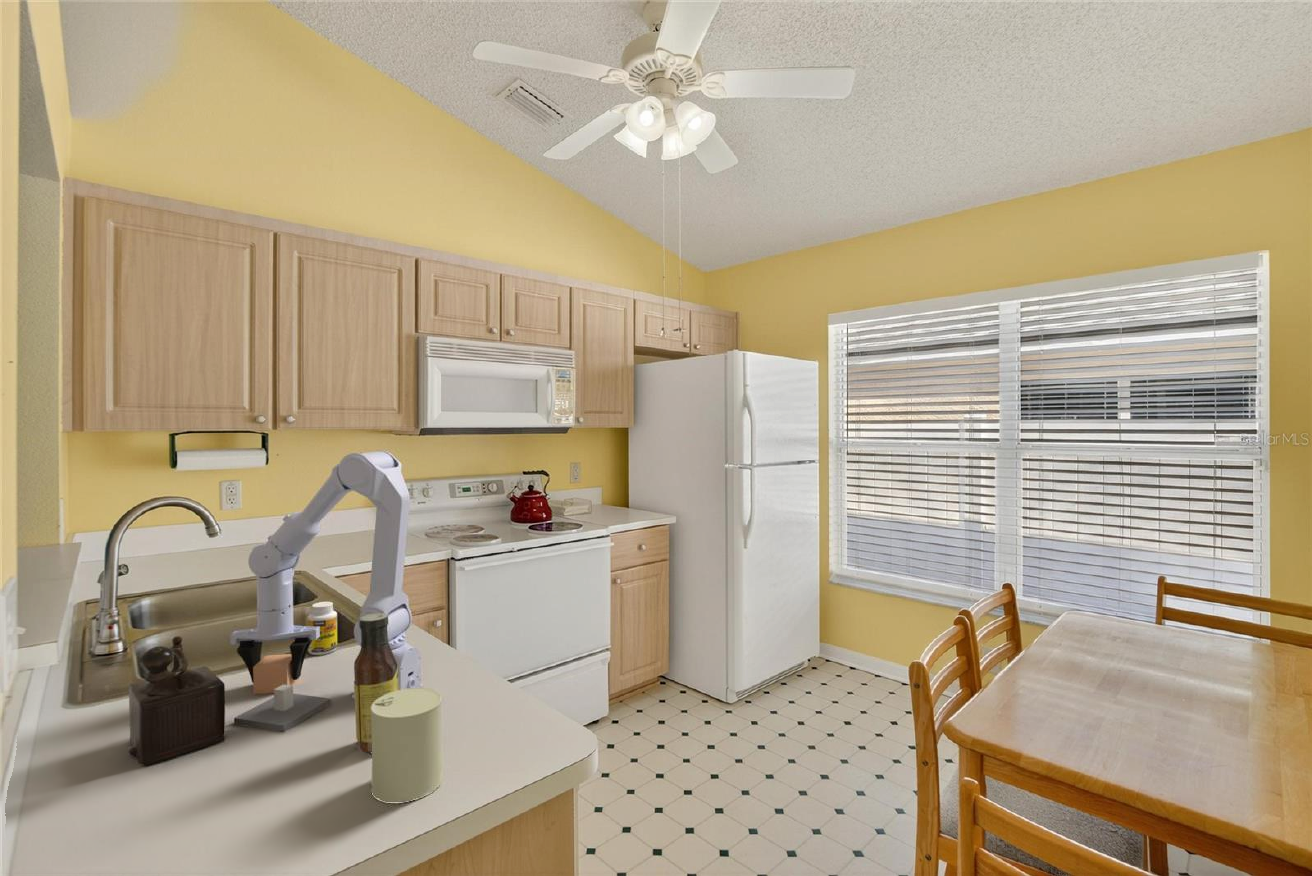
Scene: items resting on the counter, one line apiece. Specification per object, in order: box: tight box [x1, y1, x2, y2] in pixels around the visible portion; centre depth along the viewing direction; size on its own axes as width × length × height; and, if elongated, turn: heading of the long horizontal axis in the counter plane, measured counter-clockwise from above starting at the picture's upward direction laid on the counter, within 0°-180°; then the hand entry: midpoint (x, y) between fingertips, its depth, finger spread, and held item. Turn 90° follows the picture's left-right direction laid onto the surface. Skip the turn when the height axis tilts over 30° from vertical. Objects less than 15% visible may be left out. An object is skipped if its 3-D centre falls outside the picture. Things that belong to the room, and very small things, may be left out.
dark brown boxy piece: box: [128, 636, 226, 767], centre depth 96 cm, size 16×11×18 cm
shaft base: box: [233, 685, 332, 732], centre depth 108 cm, size 10×10×4 cm
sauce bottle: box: [353, 613, 399, 753], centre depth 98 cm, size 7×6×20 cm
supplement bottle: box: [307, 601, 338, 656], centre depth 136 cm, size 6×6×10 cm
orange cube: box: [253, 653, 300, 695], centre depth 119 cm, size 6×6×5 cm
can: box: [370, 687, 444, 802], centre depth 88 cm, size 9×9×12 cm
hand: (276, 679), depth 119 cm, fingers open, 6 cm apart
